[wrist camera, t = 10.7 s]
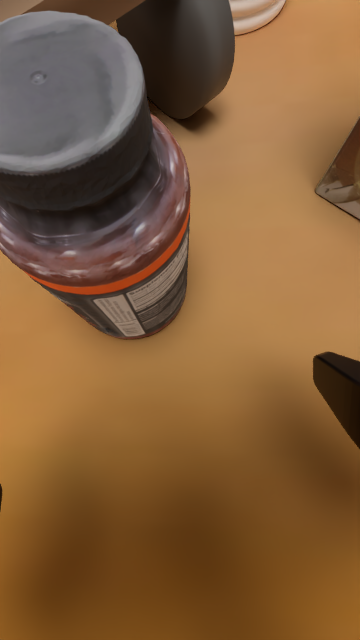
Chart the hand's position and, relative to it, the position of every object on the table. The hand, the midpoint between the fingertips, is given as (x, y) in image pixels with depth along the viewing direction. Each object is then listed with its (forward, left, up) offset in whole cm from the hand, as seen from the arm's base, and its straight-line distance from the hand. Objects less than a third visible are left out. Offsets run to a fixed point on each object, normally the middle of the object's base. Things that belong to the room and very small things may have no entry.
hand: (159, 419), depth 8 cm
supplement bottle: (+6, -3, -7) cm, 10 cm away
